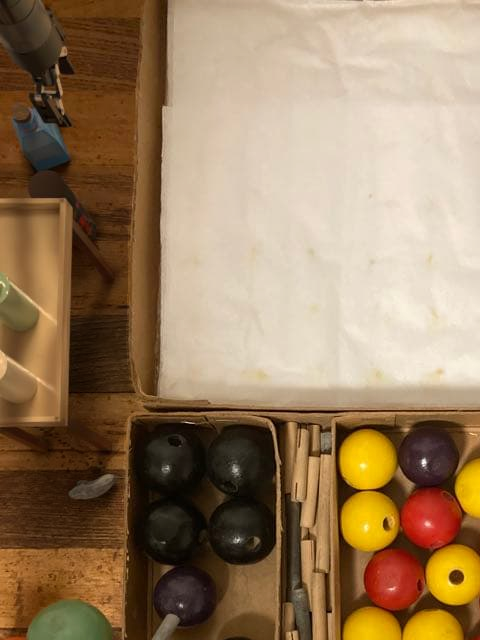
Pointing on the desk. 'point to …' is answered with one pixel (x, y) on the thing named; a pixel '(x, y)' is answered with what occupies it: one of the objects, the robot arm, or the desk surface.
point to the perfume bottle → (38, 138)
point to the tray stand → (43, 312)
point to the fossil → (92, 487)
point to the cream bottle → (15, 381)
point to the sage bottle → (16, 306)
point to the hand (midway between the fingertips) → (67, 98)
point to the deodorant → (56, 187)
